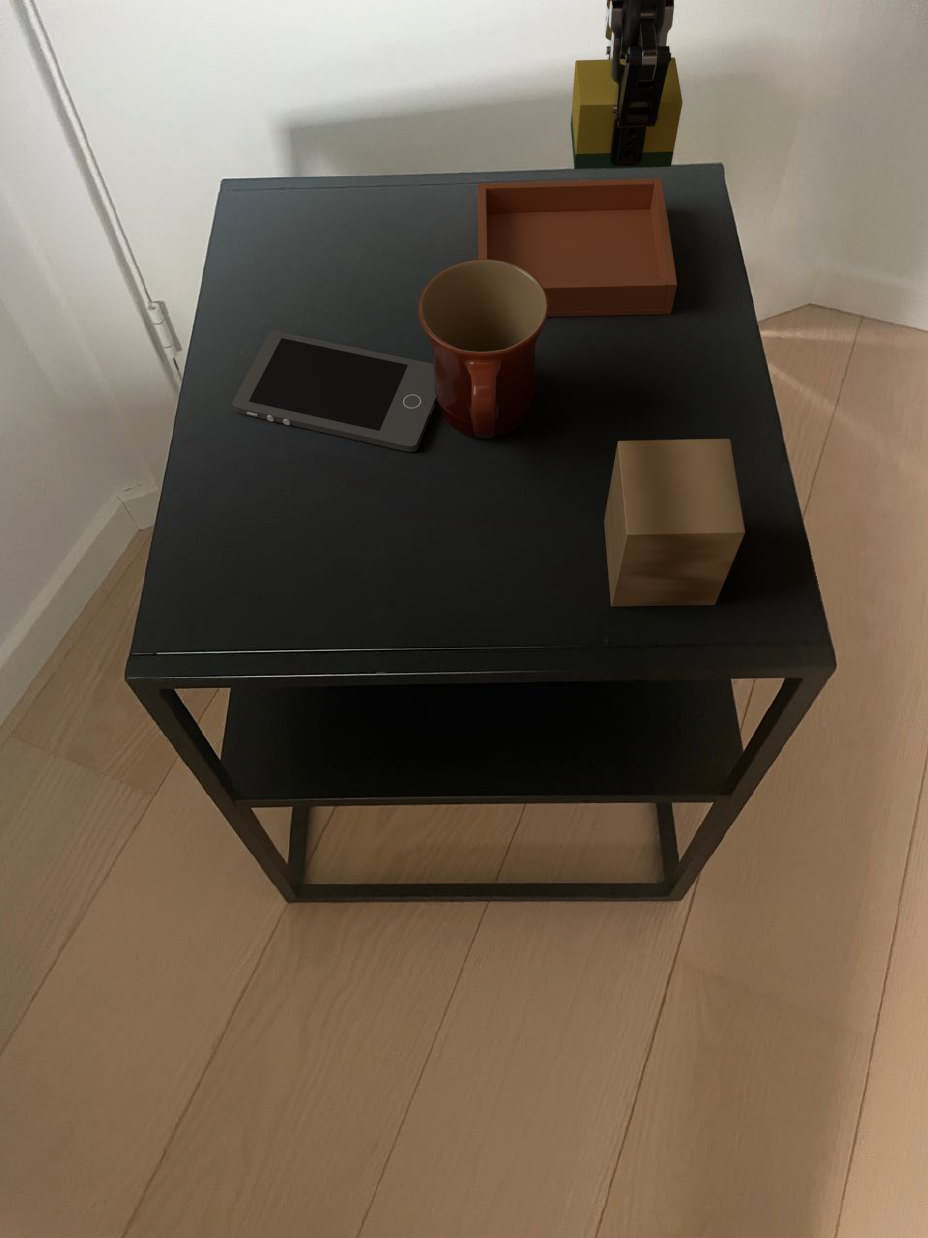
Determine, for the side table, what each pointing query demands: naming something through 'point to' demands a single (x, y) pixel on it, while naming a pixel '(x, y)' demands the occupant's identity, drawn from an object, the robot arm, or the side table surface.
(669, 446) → the tall wooden block
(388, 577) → the side table surface
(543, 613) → the side table surface
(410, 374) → the smartphone
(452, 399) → the mug
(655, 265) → the tray
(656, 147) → the sponge
